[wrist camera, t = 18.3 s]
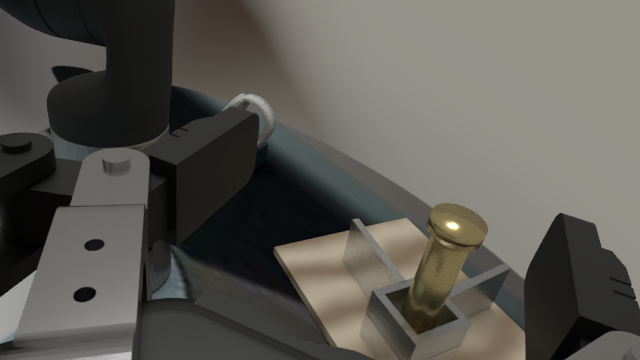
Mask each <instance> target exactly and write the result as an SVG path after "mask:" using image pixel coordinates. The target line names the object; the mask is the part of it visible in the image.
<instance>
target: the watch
mask: <svg viewBox="0 0 640 360" xmlns="http://www.w3.org/2000/svg"><path fill="white" fill-rule="evenodd" d="M249 102H250V103H253V104H254V105H255V106H256V107H258V109H259V110H260V111H262V114H263V115H264V117H265V120H266V126H265V129H264V131H263V133H262V135H261V137H260V138H259V139H258V142H257V152H256V162H255V168H254V170H255V169H256V168H257V167H259V166H260V165H261V164H263V163H264V162H265V161H266V157H267V148H268V143H265V142H266V141H267V140H268V139H269V137H270V136H271V135H272V133H273V131H274V129H275V127H274V126H275V124H274V123H275V119H274V118H275V117H274V113H272V112H273V111H272V109H271V107H270V105H269V104H268V103H267V102H266V101H265V100H264V99H263V98H261V97H259V96H257V95H254V94H249V95H245V94H241V95H239V96H237V97H236V98H234V99H233V100H232V101H231V102H230V103H229V104H228V105H227V106H226V107H225V108H224V110H225V109H227V108H229V107H231V106H234V107H237V108H240V109H243V110H245V109H246V108H247V106H248V105H249ZM224 110H223V111H224ZM267 110H268V111H267Z"/></svg>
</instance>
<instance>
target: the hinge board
mask: <svg viewBox="0 0 640 360" xmlns="http://www.w3.org/2000/svg"><path fill="white" fill-rule="evenodd" d="M366 229H367V230H368V231H369V233H370V234H371V235H372V237H373V238H374V239H375V241H376V242H377V243H378V245H379V246H380V247H381V248H382V250H383V251H384V252H385V254H386V255H387V256H388V258H389V259H390V260H391V262H392V263H393V264H394V266H395V267H396V268H397V269H398V271H399V272H400V273H401V275H402V276H403V277H404V279H405V280H408V279H411V278H414V276H415V274H416V271H417V269H418V266H419V264H420V261H421V259H422V256H423V253H424V251H425V248H426V246H427V243H428V241H429V239H428V238H427V237H426V236H425V235H424V234H423V233H422V232H421V231H420V230H419V229H417V228H416V227H415V226H414V225H413V224H412V223H411V222H410V221H409V220H408V219H407V218H403V219H398V220H394V221H389V222H385V223H381V224H376V225H372V226H367V227H366ZM349 231H350V230H349ZM349 231H345V232H340V233H336V234H331V235H327V236H322V237H318V238H313V239H309V240H304V241H300V242H295V243H291V244H286V245H282V246H278V247H274V255H275V257H276V258H277V260H278V262H279V263H280V265H281V266H282V268H283V270H284V271H285V273H286V274H287V276H288V278H289V279H290V281H291V282H292V284H293V286H294V287H295V289H296V291H297V292H298V294H299V295H300V297H301V299H302V300H303V302H304V303H305V305H306V307H307V308H308V310H309V312H310V313H311V315H312V316H313V318H314V320H315V321H316V323H317V324H318V326H319V328H320V329H321V331H322V332H323V334H324V336H325V337H326V339H327V341H328V342H329V344H330V345H331V346H335V347H340V348H345V349H350V350H355V351H357V352H359V353H361V354H364V355H366V356H368V357H371V358H373V359H375V360H377V359H376V358H375V356H374V355H373V353H372V352H371V350H370V349H369V347H368V346H367V345H366V343H365V342H364V340H363V339H362V337H361V336H360V334H359V332H360V329H361V326H362V323H363V319H364V316H365V313H366V310H367V307H368V303H369V301H368V299H367V297H366V296H365V294H364V293H363V291H362V290H361V288H360V287H359V285H358V283H357V282H356V280H355V279H354V277H353V276H352V274H351V273H350V271H349V269H348V268H347V266H346V265H345V263H344V262H343V260H342V259H343V255H344V251H345V247H346V243H347V239H348V235H349ZM467 280H470V279H469V278H468V277H467V276H466V275H465V274H464V273H463V272H462V271H461V270H460V273H459V275H458V277H457V279H456V281H455V283H454V286H453V287H455V286H457V285H459V284H461V283H463V282H465V281H467ZM469 321H470V322H471V323H472V324H471V326H470V328H469V330H468V332H467V334H466V336H465V338H464V340H463V342H462V344H461V346H460V348H459V350H458V352H457V354H456V356H455V358H454V360H525V332H524V331H523V330H522V329H521V328H520V327H519V326H518V325H517V324H516V323H514V322H513V321H512V320H511V319H510V318H509V317H508V316H507V315H506V314H505V313H504V312H503V311H502V310H501V309H500V308H499V307H498V306H497V305H496V304H495V303H494V302H493V304H492V306H491V308H489V309H487V310H485V311H483V312H482V313H480V314H478V315H476V316H474V317H472V318H470V319H469Z"/></svg>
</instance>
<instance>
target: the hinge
mask: <svg viewBox="0 0 640 360" xmlns="http://www.w3.org/2000/svg"><path fill="white" fill-rule="evenodd" d="M342 260H343V262H344V263H345V265H346V266H347V268H348V269H349V271H350V273H351V274H352V276H353V277H354V279H355V280H356V282H357V283H358V285H359V287H360V288H361V290H362V291H363V293H364V294H365V296H366V297H367V299H368V301H369V303H368V307H367V310H366V313H365V316H364V319H363V323H362V326H361V329H360V332H359V334H360V336H361V337H362V339H363V340H364V342H365V343H366V345H367V346H368V347H369V349H370V350H371V352H372V353H373V355H374V356H375V358H376V359H377V360H454V358H455V356H456V354H457V352H458V350H459V348H460V346H461V344H462V342H463V340H464V338H465V336H466V334H467V332H468V330H469V328H470V326H471V324H472V323H471V322H470V321H469V319H470V318H472V317H474V316H476V315H478V314H480V313H482V312H483V311H485V310H487V309H489V308H491V306H492V304H493V302H494V300H495V298H496V296H497V294H498V292H499V290H500V289H501V287H502V285H503V283H504V281H505V279H506V277H507V275H508V273H509V271H510V269H511V268H510V267H509V266H508V265H506V264H505V263H504V264H502V265H500V266H498V267H496V268H493V269H491V270H489V271H487V272H485V273H483V274H480V275H478V276H476V277H474V278H472V279H470V280H467V281H465V282H463V283H461V284H459V285H457V286H455V287H453V288H452V290H451V292H450V294H449V296H448V299H447V301H446V303H445V305H444V307H443V309H442V312H441V314H440V316H439V318H438V320H437V322H436V324H435V327H434V329H432V330H429V331H427V332H424V333H422V334H419V335H417V334H416V332H415V331H414V330H413V329H412V328H411V326H410V325H409V324H408V323H407V321H406V320H405V319H404V318H403V316H402V315H401V314H400V312H401V310H402V307H403V305H404V302H405V299H406V297H407V294H408V292H409V289H410V287H411V284H412V282H413V279H414V278H411V279H408V280H405V279H404V277H403V276H402V275H401V273H400V272H399V271H398V269H397V268H396V267H395V266H394V264H393V263H392V262H391V260H390V259H389V258H388V256H387V255H386V254H385V252H384V251H383V250H382V248H381V247H380V246H379V245H378V243H377V242H376V241H375V239H374V238H373V237H372V235H371V234H370V233H369V231H368V230H367V229H366V227H365V226H364V225H363V224H362V222H361V221H360V220H359V219H352V223H351V227H350V231H349V235H348V239H347V243H346V247H345V251H344V255H343V259H342Z"/></svg>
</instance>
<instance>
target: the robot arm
mask: <svg viewBox="0 0 640 360" xmlns="http://www.w3.org/2000/svg"><path fill="white" fill-rule="evenodd" d="M0 8H1V9H3V10H4V11H6V12H7V13H8V14H10V15H11V16H13V17H14V18H16V19H17V20H19V21H20V22H22V23H24V24H25V25H27V26H29V27H31V28H33V29H35V30H38V31H40V32H43V33H45V34H48V35H51V36H55V37H59V38H63V39H69V40H74V41H79V42H84V43H89V44H94V45H99V46H104V47H106V55H107V61H106V70H104V71H98V72H92V73H86V74H81V75H78V76H74V77H71V78H69V79H66V80H64V81H62V82H60V83H59V84H57V85H55V86H54V87H53V88H52V89H51V91H50V92H49V94H48V97H47V111H48V117H49V123H50V129H51V135H52V140H51V139H49V138H48V137H46V136H43V135H40V134H35V133H11V134H6V135H1V136H0V297H1V296H2V295H4V294H5V293H6V292H8V291H9V290H10V289H12V288H13V287H14V286H15V285H17V284H18V283H19V282H21V281H22V280H23V279H25V278H26V277H27V276H29V275H30V274H31V273H33V272H34V271H35V270H37V271H36V274H35V277H34V280H33V283H32V286H31V289H30V292H29V295H28V298H27V301H26V305H25V308H24V310H23V314H22V317H21V320H20V323H19V326H18V329H17V332H16V335H15V338H14V340H12V341H9V342H5V343H2V344H0V360H375V359H373V358H371V357H368V356H366V355H364V354H361V353H359V352H357V351H355V350H350V349H345V348H340V347H335V346H330V345H325V344H320V343H315V342H310V341H305V340H301V339H298V338H296V337H294V336H292V335H291V334H289V333H288V332H287V331H285V330H284V329H283V328H281V327H280V326H279V325H277V324H276V323H275V322H273V321H272V320H271V319H269V318H268V317H267V316H265V315H264V314H263V313H261V312H260V311H259V310H257V309H256V308H255V307H253V306H251V305H249V304H247V303H244V302H242V301H240V300H237V299H235V298H233V297H230V296H228V295H226V294H224V293H221V292H219V291H217V290H214V289H212V288H210V287H207V289H206V290H205V291H204V292H203V293H202V294H201V295H200V296H199V298H198V299H197V300H193V299H183V298H163V299H154V300H152V292H154V291H155V290H156V289H158V288H159V287H160V286H161V285H162V284H163V283H164V282H165V281H166V279H167V278H168V276H169V274H170V270H171V244H172V245H174V246H176V247H177V246H178V245H179V244H180V243H181V242H182V241H184V240H185V239H186V238H187V237H188V236H189V235H190V234H191V233H192V232H193V231H195V230H196V229H197V228H198V227H199V226H200V225H201V224H202V223H203V222H205V221H206V220H207V219H208V218H209V217H210V216H211V215H212V214H213V213H214V212H216V211H217V210H218V209H219V208H220V207H221V206H222V205H223V204H224V203H225V202H227V201H228V200H229V199H230V198H231V197H232V196H233V195H234V194H235V193H237V192H238V191H239V190H240V189H241V188H242V187H243V186H244V185H245V184H246V183H247V182H248V181H249V179H250V178H251V176H252V174H253V171H254V168H255V162H256V152H257V142H258V132H259V117H258V115H257V114H256V113H252V112H249V111H246V110H243V109H240V108H237V107H234V106H231V107H229V108H227V109H225V110H224V111H222V112H220V113H219V114H217V115H215V116H214V117H207V118H203V119H198V120H194V121H192V122H190V123H188V124H187V125H185V126H183V127H181V130H180V129H178V130H176V131H174V132H173V133H171V135H169V102H170V94H171V86H172V53H173V30H174V12H175V0H0ZM52 141H53V142H52ZM635 299H636V296H635V293H634V290H633V288H632V287H631V281H630V278H629V275H628V272H627V269H626V267H625V266H624V265H623V264H622V263H621V261H620V260H619V259H618V258H617V257H616V255H615V254H614V253H613V252H612V251H610V250H606V249H603V248H601V244H600V240H599V237H598V232H597V229H596V226H595V224H594V223H590V222H587V221H585V220H581V219H578V218H575V217H572V216H569V215H566V214H563V213H560V214H558V215H557V216H556V217H555V219H554V221H553V222H552V224H551V226H550V228H549V230H548V231H547V233H546V235H545V237H544V239H543V241H542V243H541V244H540V246H539V248H538V250H537V252H536V253H535V255H534V257H533V259H532V261H531V263H530V265H529V268H528V271H527V274H526V277H525V283H524V303H525V360H640V309H639V305H638V303H637V301H635Z"/></svg>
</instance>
